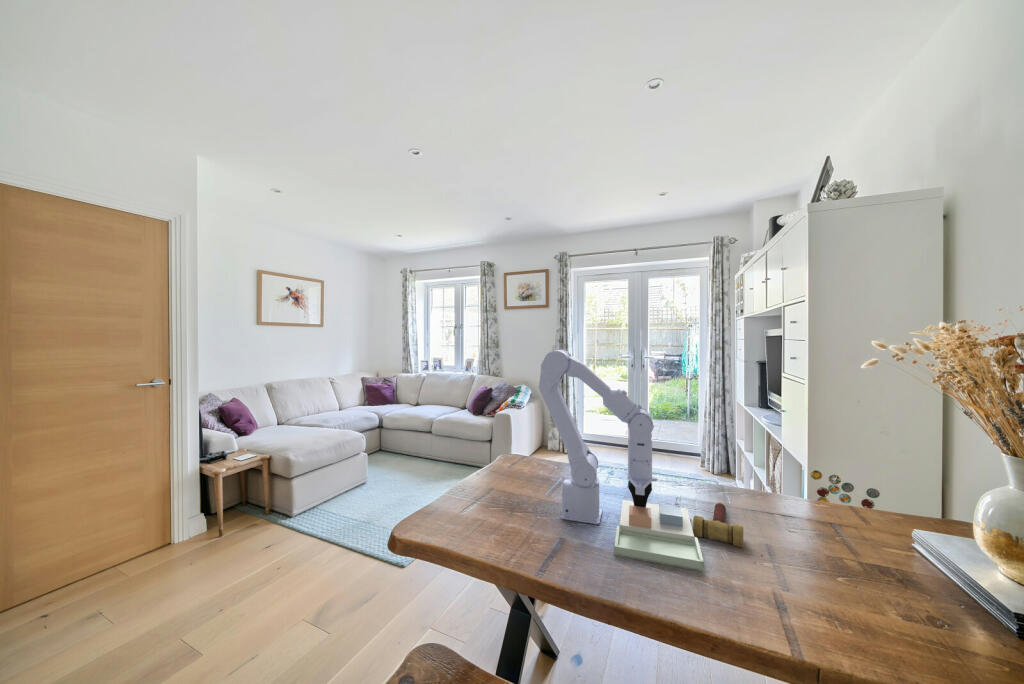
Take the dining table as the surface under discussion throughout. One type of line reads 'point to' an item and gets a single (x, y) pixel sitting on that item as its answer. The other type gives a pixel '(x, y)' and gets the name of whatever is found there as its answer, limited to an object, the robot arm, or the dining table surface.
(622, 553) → the tray
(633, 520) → the tile terracotta
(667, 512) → the tile slate
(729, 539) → the gavel
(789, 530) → the dining table surface
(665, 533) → the board
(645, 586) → the dining table surface
